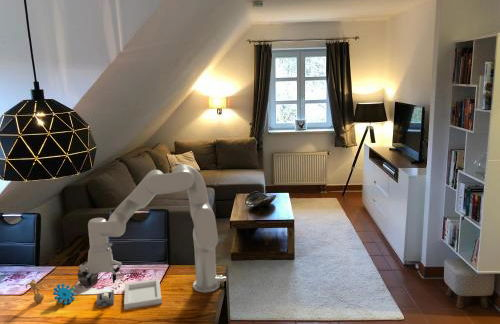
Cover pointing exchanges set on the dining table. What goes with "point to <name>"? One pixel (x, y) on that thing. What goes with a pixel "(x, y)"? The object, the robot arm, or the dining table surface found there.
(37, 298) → the figurine
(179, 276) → the dining table surface
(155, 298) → the tray
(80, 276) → the cupcake
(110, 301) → the grey square frame
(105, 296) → the white rounded knob
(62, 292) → the blue virus model
